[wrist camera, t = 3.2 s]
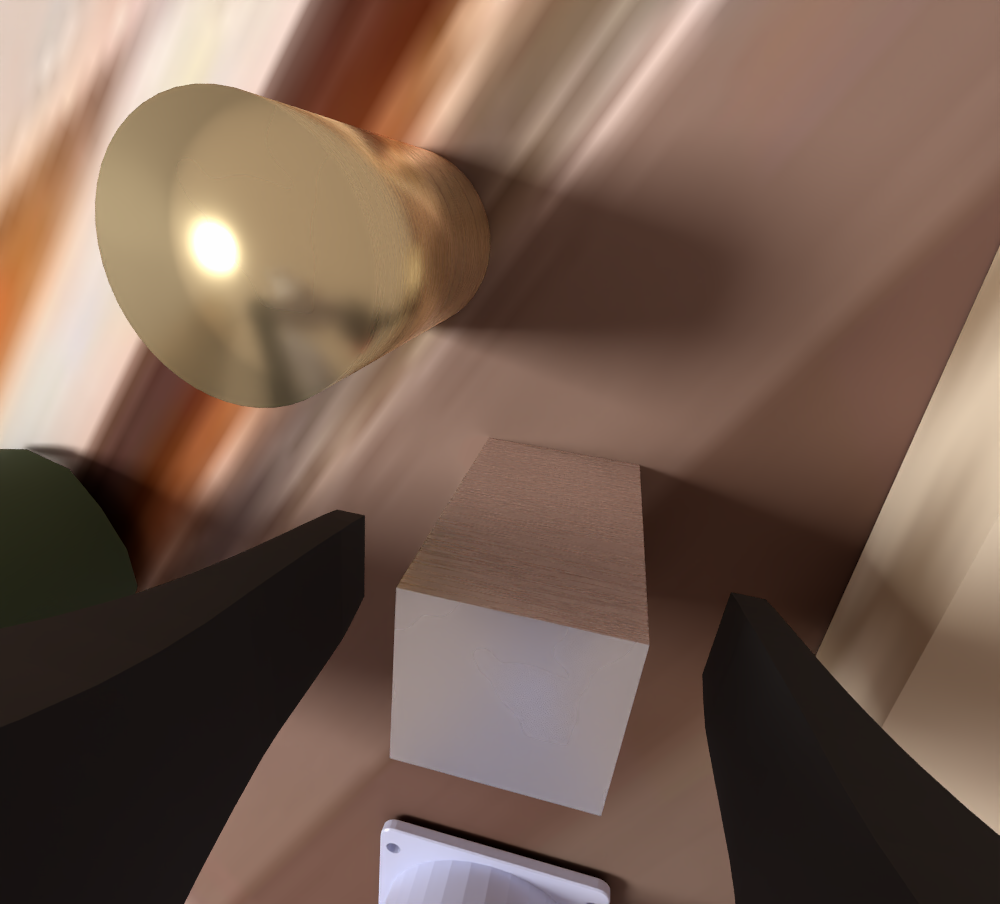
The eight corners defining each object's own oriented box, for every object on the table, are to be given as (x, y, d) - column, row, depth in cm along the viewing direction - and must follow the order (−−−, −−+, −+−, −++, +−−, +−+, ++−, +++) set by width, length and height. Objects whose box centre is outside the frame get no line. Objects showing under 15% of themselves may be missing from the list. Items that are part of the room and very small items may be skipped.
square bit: (610, 590, 14) (601, 816, 9) (475, 561, 15) (389, 757, 9) (639, 464, 13) (649, 645, 7) (488, 437, 13) (396, 587, 8)
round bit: (482, 336, 12) (370, 429, 7) (332, 313, 13) (122, 383, 8) (498, 155, 11) (375, 98, 6) (329, 137, 12) (66, 69, 6)
